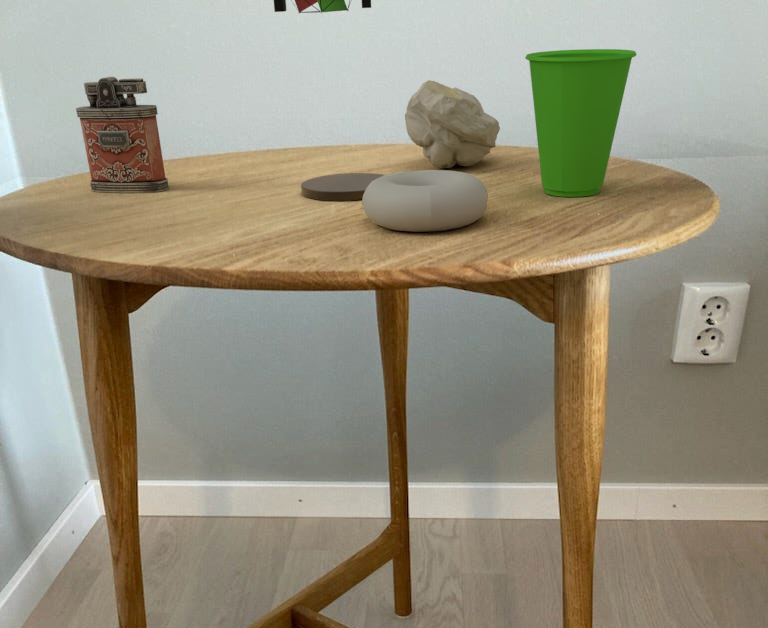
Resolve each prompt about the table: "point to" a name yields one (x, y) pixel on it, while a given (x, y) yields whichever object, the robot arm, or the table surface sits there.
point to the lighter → (121, 138)
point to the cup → (577, 115)
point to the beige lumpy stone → (450, 125)
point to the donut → (425, 200)
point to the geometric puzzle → (322, 5)
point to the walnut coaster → (338, 186)
